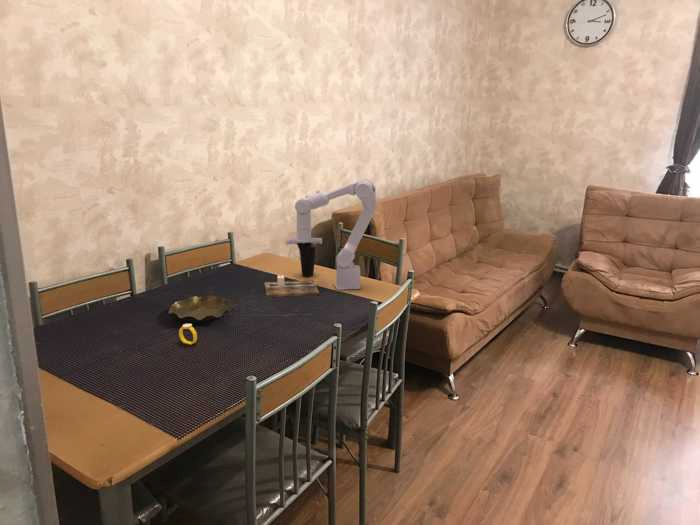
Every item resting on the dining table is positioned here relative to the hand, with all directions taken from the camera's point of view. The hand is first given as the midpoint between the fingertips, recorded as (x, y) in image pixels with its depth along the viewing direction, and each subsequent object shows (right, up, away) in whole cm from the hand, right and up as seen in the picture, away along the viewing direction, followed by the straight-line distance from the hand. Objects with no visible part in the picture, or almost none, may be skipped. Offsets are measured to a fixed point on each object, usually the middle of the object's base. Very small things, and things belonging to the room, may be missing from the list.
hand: (304, 261), depth 223 cm
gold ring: (-30, -25, -56) cm, 68 cm away
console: (-5, -11, -4) cm, 13 cm away
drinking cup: (0, -6, +15) cm, 16 cm away
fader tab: (-9, -10, -5) cm, 15 cm away
